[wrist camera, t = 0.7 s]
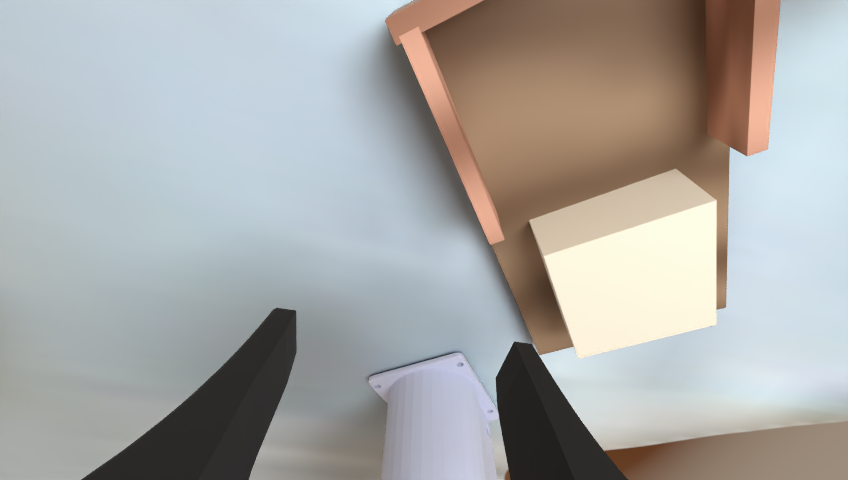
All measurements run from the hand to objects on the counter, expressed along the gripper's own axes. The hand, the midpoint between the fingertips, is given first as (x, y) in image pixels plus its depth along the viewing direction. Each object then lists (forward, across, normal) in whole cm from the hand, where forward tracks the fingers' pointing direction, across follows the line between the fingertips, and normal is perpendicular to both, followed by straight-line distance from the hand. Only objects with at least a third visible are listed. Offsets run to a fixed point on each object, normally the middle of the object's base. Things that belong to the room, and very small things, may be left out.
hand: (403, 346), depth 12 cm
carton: (+8, -11, 0) cm, 14 cm away
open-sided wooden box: (+10, -9, -3) cm, 13 cm away
